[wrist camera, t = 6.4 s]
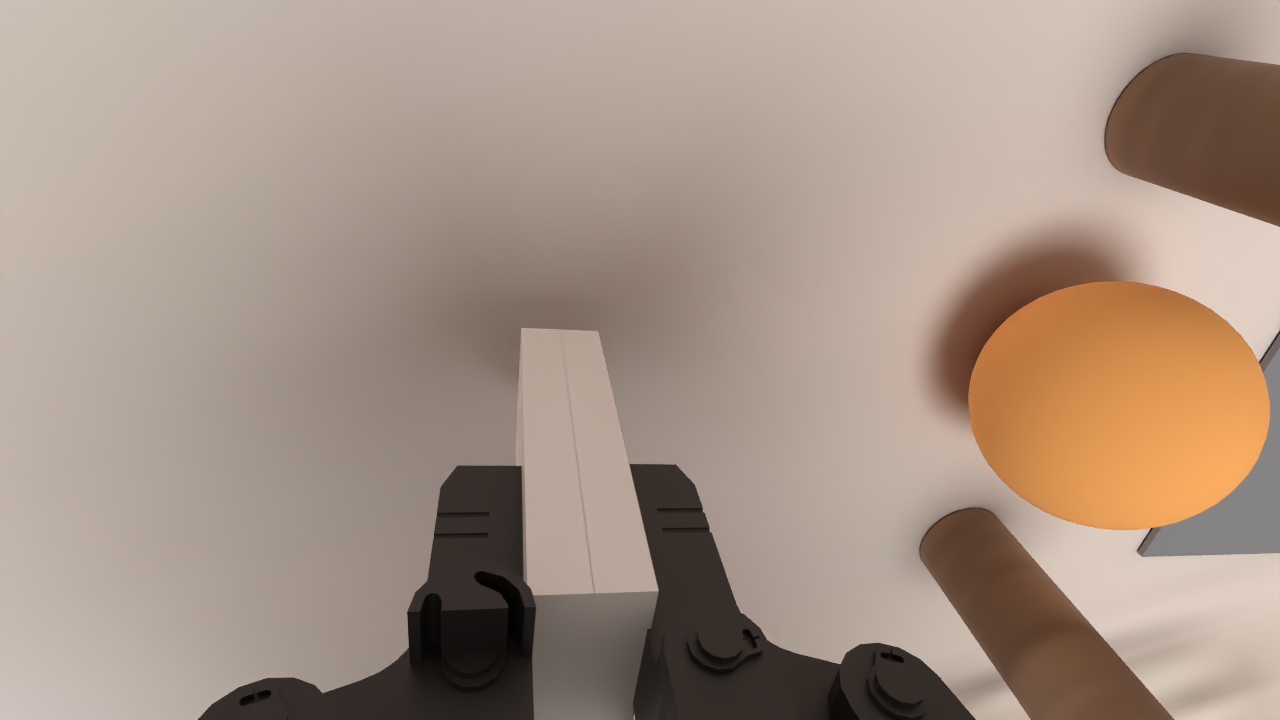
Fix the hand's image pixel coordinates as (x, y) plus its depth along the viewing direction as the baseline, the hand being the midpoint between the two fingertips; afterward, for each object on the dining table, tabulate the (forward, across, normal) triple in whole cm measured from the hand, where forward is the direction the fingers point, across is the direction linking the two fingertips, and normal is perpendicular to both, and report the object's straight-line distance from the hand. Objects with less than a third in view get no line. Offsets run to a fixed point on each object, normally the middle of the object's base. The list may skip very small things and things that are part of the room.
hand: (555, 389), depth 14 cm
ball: (-1, +12, 0) cm, 12 cm away
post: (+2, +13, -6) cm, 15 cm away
